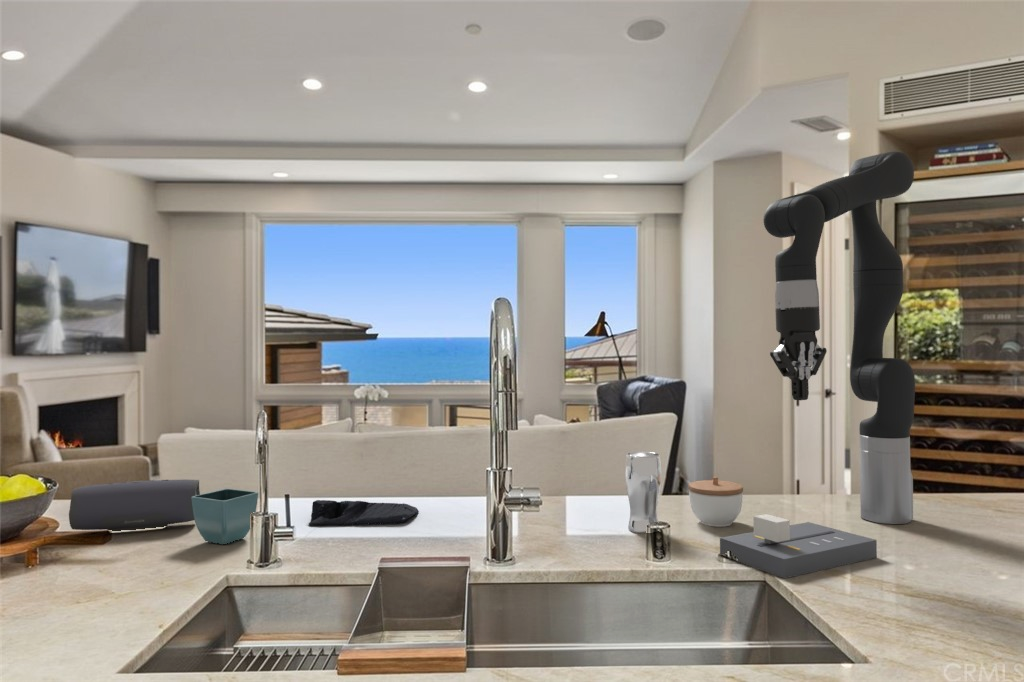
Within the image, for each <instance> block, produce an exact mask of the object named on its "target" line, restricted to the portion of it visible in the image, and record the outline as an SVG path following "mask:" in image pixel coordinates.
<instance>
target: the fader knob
mask: <svg viewBox="0 0 1024 682" xmlns="http://www.w3.org/2000/svg"><path fill="white" fill-rule="evenodd" d="M790 525H791V523H790V520H789V519H786V518H783V517H778V516H775V515H771V514H767V513H765V514H759V515H753V532H754V535H755V536H759V537H762V538H764V539H765V542H766V543H769V544H771V543H777V542H780V541H785V540H790Z"/></svg>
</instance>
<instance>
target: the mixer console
mask: <svg viewBox="0 0 1024 682" xmlns="http://www.w3.org/2000/svg"><path fill="white" fill-rule="evenodd" d="M877 543H878V542H877V539H874V538H870V537H867V536H864V535H860V534H855V533H851V532H848V531H843V530H840V529H836V528H834V527H833V528H832V527H830V526H825V525H822V524H818V523H813V522H810V521H807V522H801V523H796V524H790V540H785V541H780V542H777V543H771V544H769V543H766V542H765V539H764V538H762V537H759V536H755V535H754V531H751V532H745V533H741V534H739V533H738V534H735V535H728V536H723V537H719V555H720V554H725V553H727V551H731V552H732V553H734V555H735V556H736V558H737V559H738V561H739V562H738V561H737V562H738V563H740V562H741V563H740V564H743V565H747V566H749V567H752V568H754V569H758V570H760V571H763V572H766V573H768V574H771V575H773V576H777V577H779V578H783V579H786V578H787V579H788V578H791V577H797V576H801V575H806V574H810V573H814V572H817V571H823V570H829V569H832V568H837V567H840V566H845V565H850V564H854V563H857V562H858V563H859V562H862V561H867V560H872V559H876V558H877V557H878V555H877V554H878V553H877V552H878V551H877V550H878V549H877V545H878V544H877Z"/></svg>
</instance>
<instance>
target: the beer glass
mask: <svg viewBox="0 0 1024 682" xmlns="http://www.w3.org/2000/svg"><path fill="white" fill-rule="evenodd" d="M625 457H626V458H625V485H626V492H627V497H628V502H629V504H628V505H629V521H628V528H627V529H628V531H630V532H631V533H635V534H645V533H646V527H647V524H649V523H651V522H658V523H659V518H658V517H659V516H658V506H659V499H660V493H661V487H662V463H661V455H660V453H658V452H655V451H629V452H627V453H626V456H625ZM645 535H646V534H645Z"/></svg>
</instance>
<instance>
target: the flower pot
mask: <svg viewBox="0 0 1024 682" xmlns="http://www.w3.org/2000/svg"><path fill="white" fill-rule="evenodd" d="M258 498H259V492H258V491H251V490H243V489H233V488H224V489H219V490H215V491H211V492H205V493H200V495H196V496H193V497H191V499H192V506H193V513H194V523H195V526H196V528H197V531H198V533H199V534H200V536H201V537H202V539H203V540H204V541H205V542H206V541H208V542H207V543H211V542H213V543H214V544H217V543H219V544H218V545H223V544H226V545H228V544H231V543H234V542H236V541H235V540H238V539H241V538H244V537H245V538H246V537H247V534H248V533H249V532H250V530H251V528H250V514H251V513H253V512H257V505H258ZM245 538H244V539H245ZM241 540H242V539H241ZM233 541H234V542H233ZM238 541H239V540H238ZM230 542H231V543H230ZM227 543H228V544H227Z"/></svg>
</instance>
